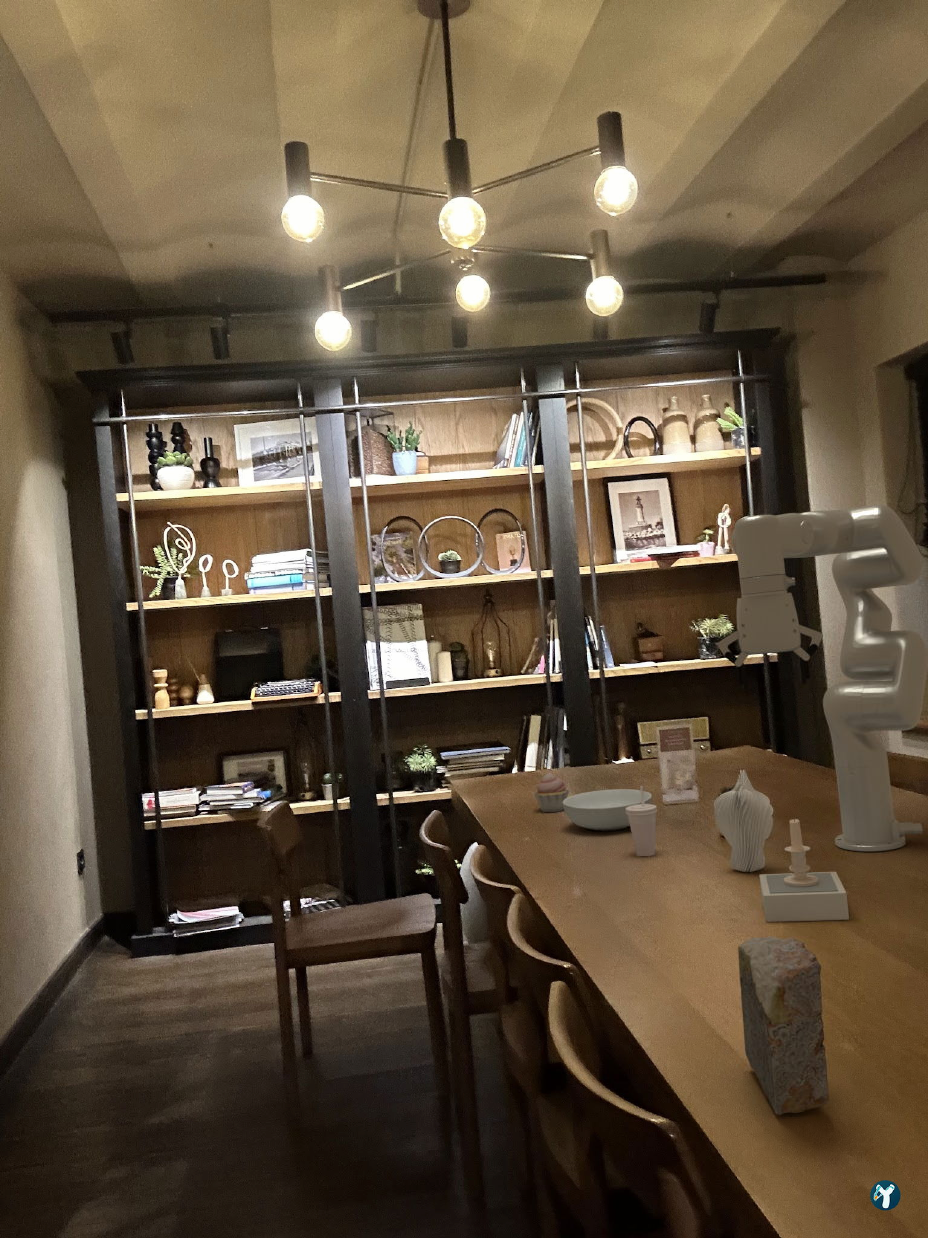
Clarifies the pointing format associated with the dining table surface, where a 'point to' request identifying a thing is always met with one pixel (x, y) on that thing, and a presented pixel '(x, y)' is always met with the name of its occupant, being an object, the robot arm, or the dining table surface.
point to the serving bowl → (603, 808)
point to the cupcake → (551, 793)
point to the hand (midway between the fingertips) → (774, 686)
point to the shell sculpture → (744, 823)
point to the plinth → (804, 898)
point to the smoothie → (643, 826)
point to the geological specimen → (784, 1022)
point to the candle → (798, 859)
